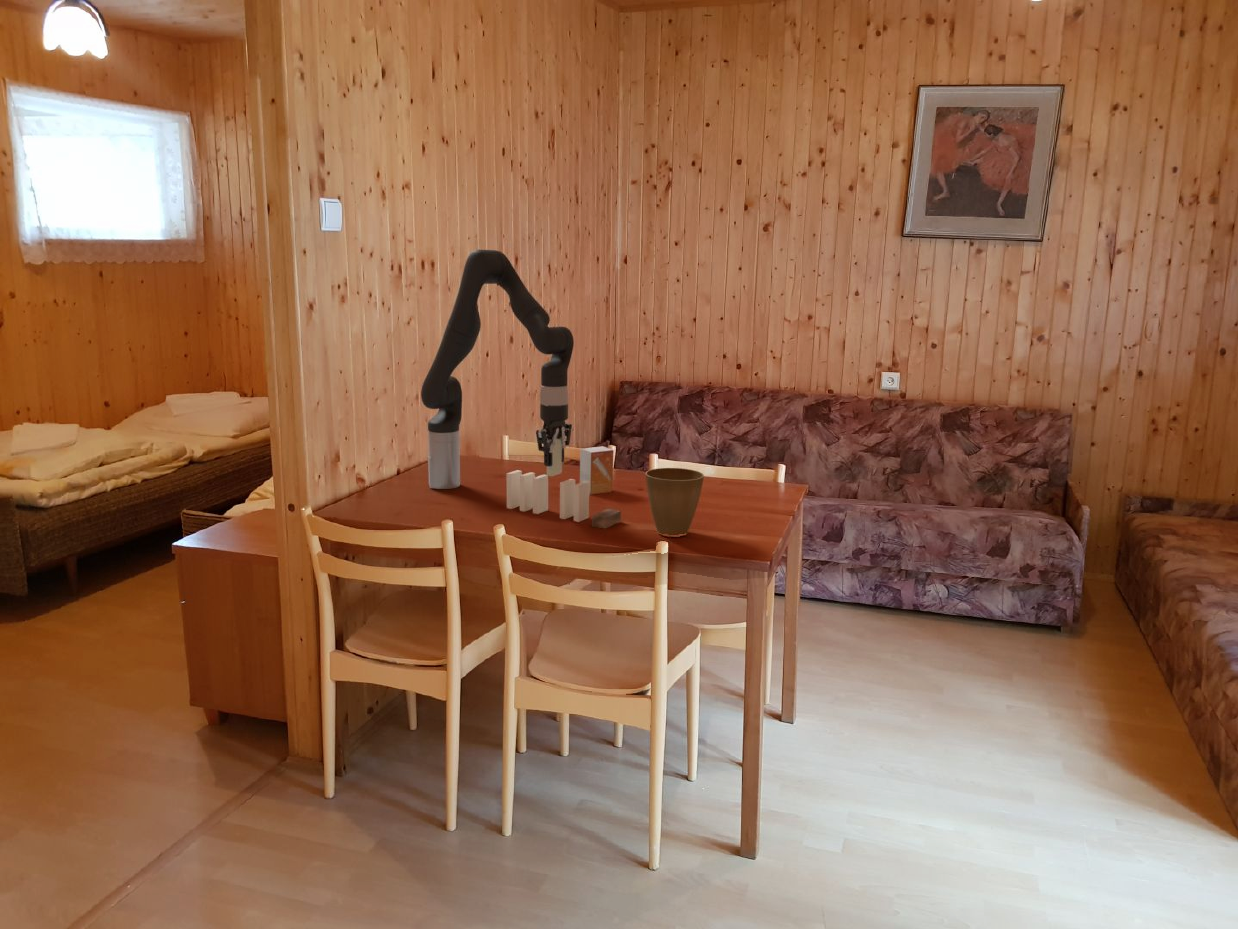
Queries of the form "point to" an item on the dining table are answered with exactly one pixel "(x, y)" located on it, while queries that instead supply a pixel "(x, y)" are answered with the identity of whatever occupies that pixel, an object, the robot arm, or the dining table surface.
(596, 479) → the small box
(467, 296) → the robot arm
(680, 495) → the plant pot
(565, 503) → the domino
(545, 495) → the domino
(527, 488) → the domino
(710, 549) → the dining table surface
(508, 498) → the domino
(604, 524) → the stop block
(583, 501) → the domino
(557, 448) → the domino
